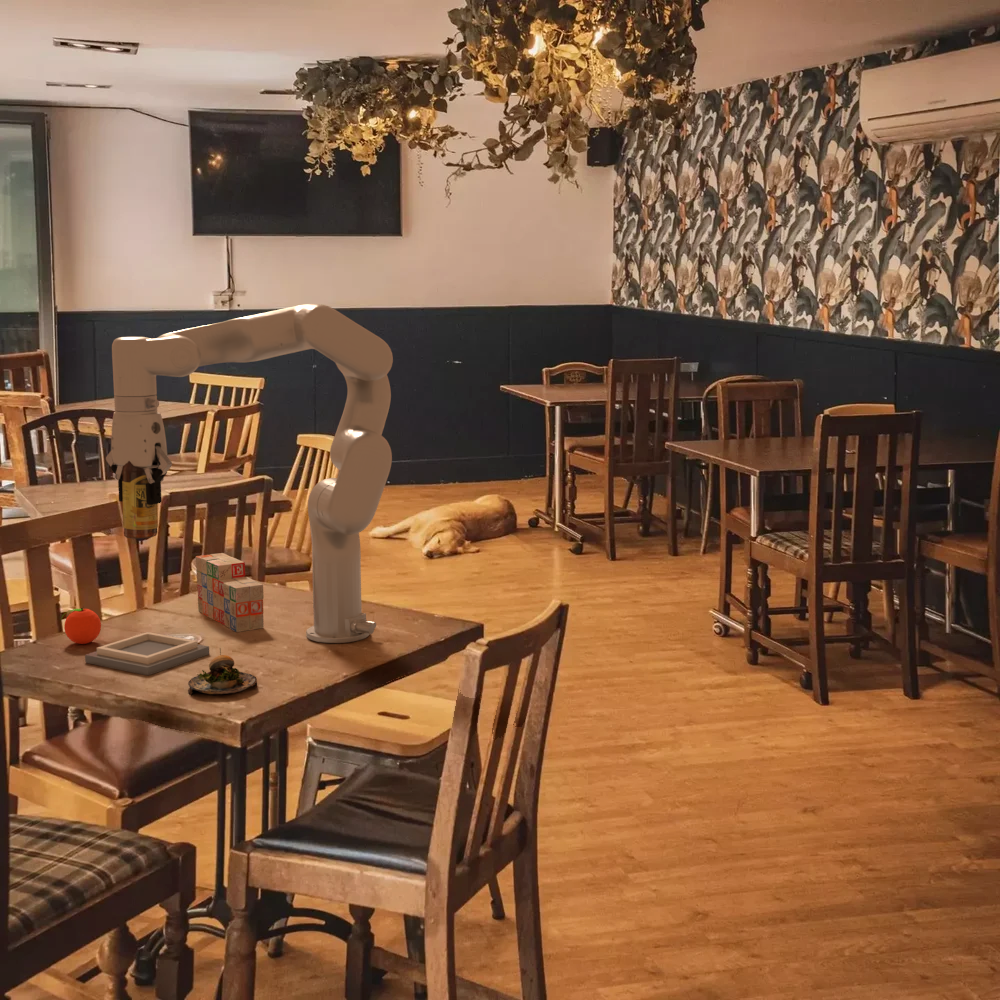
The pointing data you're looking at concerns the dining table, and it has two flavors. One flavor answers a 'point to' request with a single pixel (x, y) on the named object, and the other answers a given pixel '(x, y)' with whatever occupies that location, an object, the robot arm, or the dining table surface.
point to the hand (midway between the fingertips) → (140, 501)
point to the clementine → (82, 626)
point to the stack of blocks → (228, 592)
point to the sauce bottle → (137, 504)
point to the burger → (221, 678)
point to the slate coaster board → (147, 653)
